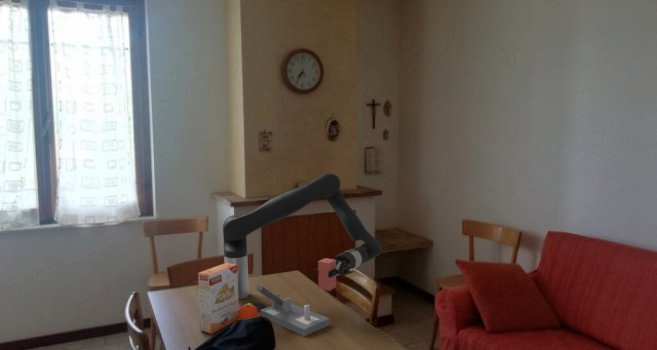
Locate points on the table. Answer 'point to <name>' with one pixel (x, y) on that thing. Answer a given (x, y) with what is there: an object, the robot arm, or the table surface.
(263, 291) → the breaker lever
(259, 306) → the phone
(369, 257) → the robot arm
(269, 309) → the grey mounting base plate
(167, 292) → the table surface
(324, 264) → the red tall block
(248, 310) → the clementine
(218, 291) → the cracker box
